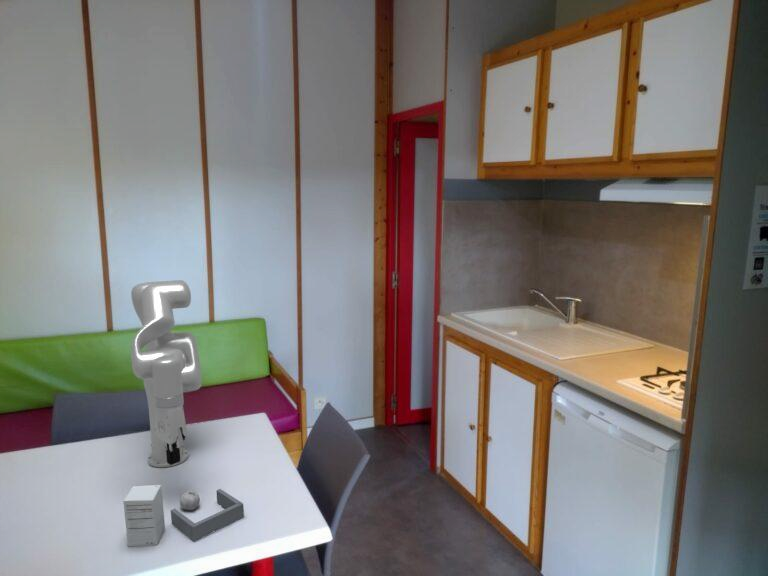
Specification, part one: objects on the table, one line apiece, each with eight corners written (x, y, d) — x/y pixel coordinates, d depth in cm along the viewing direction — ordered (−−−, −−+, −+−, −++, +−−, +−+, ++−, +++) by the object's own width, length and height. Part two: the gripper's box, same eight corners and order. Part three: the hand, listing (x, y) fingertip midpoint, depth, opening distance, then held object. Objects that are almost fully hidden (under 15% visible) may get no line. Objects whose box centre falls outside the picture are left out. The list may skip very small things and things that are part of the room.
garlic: (204, 507, 161) (203, 490, 161) (187, 516, 157) (185, 498, 157) (193, 500, 165) (192, 483, 164) (175, 507, 161) (174, 490, 160)
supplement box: (136, 530, 151) (132, 485, 149) (165, 528, 152) (162, 484, 149) (126, 547, 144) (122, 500, 142) (157, 545, 144) (153, 499, 142)
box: (171, 524, 154) (170, 510, 153) (220, 501, 164) (220, 488, 164) (193, 541, 146) (192, 527, 145) (243, 517, 157) (243, 503, 156)
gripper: (143, 397, 164) (148, 459, 166) (169, 410, 154) (174, 475, 156) (168, 391, 169) (173, 450, 172) (195, 402, 159) (199, 465, 162)
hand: (173, 462), depth 164 cm, fingers closed
